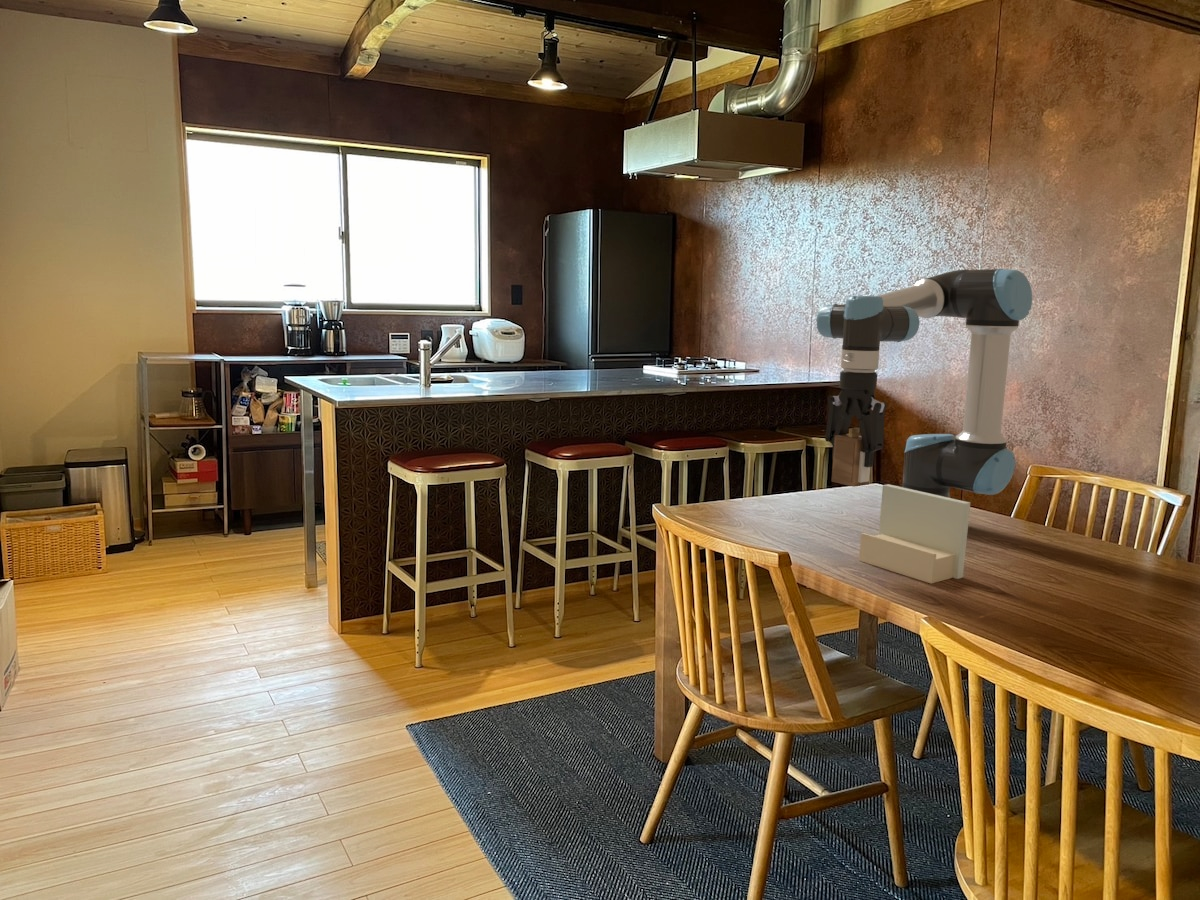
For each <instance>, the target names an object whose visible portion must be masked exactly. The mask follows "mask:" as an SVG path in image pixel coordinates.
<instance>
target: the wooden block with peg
mask: <svg viewBox="0 0 1200 900" xmlns="http://www.w3.org/2000/svg"><path fill="white" fill-rule="evenodd" d="M862 450H864V448H863V443H862V437H861V435H860V427H851V428H848V433H847V434H845V435H836V436H835V439H834V452H833V460H832V467H831V469H832V470H831V482H833V483H838V484H841V485H844V486H849V487H853V488H857V487H861V486H868V485H870V481H871V479H870V478H871V476H870V477H869V481H868V482H862V483H860V482H858V474H859V461H860V452H861V451H862ZM871 468H872V467H870V470H871Z"/></svg>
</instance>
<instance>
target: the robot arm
mask: <svg viewBox="0 0 1200 900" xmlns="http://www.w3.org/2000/svg"><path fill="white" fill-rule="evenodd" d="M1032 291H1033V290H1032V286H1031V284H1030V281H1029V280H1028V278H1027V276H1026V275H1025V273H1023V272H1022V271H1020V270H1018V269H1009V268H1008V269H1006V268H994V269H993V268H992V269H991V268H989V269H986V268H985V269H958V270H951V271H948V272H944V273H941V274H936V275H933V276H930V277H926V278H922V279H920V280H918V281H916V282H915V283H913V285H912V286H910V287H904V288H902V289H897V290H893V291H891V292H886V293H883V294H878V295H850V296H848V297H847V298H846V300H845V304H844V303H843V304H837V303H834V304H827V305H823V306H822V307H821V308H820V309H819V311H818V313H817V315H816V329H817V331H818V333H819V334H820V335H821V336H822V337H824V338H831V339H842V345H841V347H842V348H841V359H840V368H841V369H842V370H841V371H840V373H839V389H840V392H839V394H838V395H832V396H831V395H830V396H828V397H827V403H828V404H827V405H828V414H827V421H826V428H825V429H826V430H825V436H824V438H825V441H826V442H828V443H830V444H831V445H832V448H831V449H832V451H831V452H832V453H831V460H832V461H833V452H834V439H835V436H836V435H845V434H848V432H849V427H850V425H851V421H852V419H853V418H854V417H855V416H856V420H857V421H858V424H859V428H860V430H859V432H860V436H861V437H862V443H863V448H864V450H862V451H861V452H860V461H859V474H858V482H860V483H862V482H868V481H869V477H870V478H871V469H870V467H871V468H872V467H873V465H874V460H875V452H876V451H880V450H883V449H884V438H885V437H884V436H885V432H884V431H885V413H886V410H887V406H888V404H887V403H886V401H885V402H884V401H883V402H882V401H879V400H877V399H876V395H875V391H876V389H877V387H878V386H877V385H878V373H877V372H876V371H877V370H878V369H879V362H880V361H879V360H880V346H881V345H880V344H881V342H887V343H888V342H895V343H902V342H907V341H909V340H911V339H913V338H914V337H915V336H916V335H917V333H918V331H919V328H920V317H921V318H923V319H932V318H935V317H947V318H951V317H952V318H961V319H962V318H963V319H965V327H966V329H968V330H969V331H970V333H971V335H970V337H971V338H970V345H969V346H970V347H969V359H968V369H967V370H968V371H967V381H966V392H965V401H964V411H963V413H964V414H963V423H962V431H961V432H960V433H958V434H956V435H954V434H951V433H927V434H926V433H923V434H914V435H913V434H912V435H910V436H909V437H908V438H907V439H906V443H905V449H904V461H903V472H902V473H903V474H902V485H901V487H903V488H907V489H912V490H916V491H921V492H925V493H930V494H934V495H939V496H943V497H948V498H951V497H950V491H951V490H950V489H951V488H953V489H958V490H962V491H967V492H972V493H974V494H978V495H979V494H983V495H989V496H992V495H993V496H994V495H997V494H999V493H1001V492H1002V491H1003V490H1004V489H1006V488H1007V485H1008V484H1009V483H1010V481H1011V479H1012V477H1013V475H1014V471H1015V468H1016V457H1015V454H1014V453H1013V451H1012V450H1010V449H1009V448H1007V444H1008V443H1007V442H1008V440H1007V439H1006V438H1005V437H1004V435H1003V434H1002V426H1003V425H1002V423H1003V414H1004V405H1005V395H1006V394H1005V393H1006V385H1007V375H1008V364H1009V356H1010V355H1009V354H1010V344H1011V343H1010V342H1011V335H1012V334H1013V333H1014V332H1015V331H1016V330H1017V329H1018V328H1019V325H1020V321H1022V320H1024V319H1026V318H1027V316H1028V315H1029V314H1030V310H1031V309H1032V305H1033V304H1032V303H1033V292H1032Z"/></svg>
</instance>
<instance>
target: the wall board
mask: <svg viewBox="0 0 1200 900" xmlns="http://www.w3.org/2000/svg"><path fill="white" fill-rule="evenodd" d="M881 491H882V492H881V503H880V515H879V528H878V534H876V535H873V534H869V533H865V532H861V534H860V544H859V558H858V561H859V562H862V563H865V564H869V565H871V566H875V567H877V568H880V569H881V568H882V569H883V570H884V569H885V570H888V571H890V572H893V573H897V574H900V575H903V576H906V577H908V578H913V579H915V580H918V581H920V582H925V583H929V584H931V585H932V584H935V583H939V582H941V581H945V580H949V579H957V580H959V579H962V578H963V577H964V570H965V559H966V551H967V541H968V540H967V539H968V530H969V519H970V511H971V502H970V501H965V500H959V499H956V498H951V497H950V498H948V497H943V496H939V495H934V494H930V493H925V492H921V491H916V490H912V489H907V488H903V487H902V486H899V485H893V484H888V483H887V484H883V485H882V490H881Z"/></svg>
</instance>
